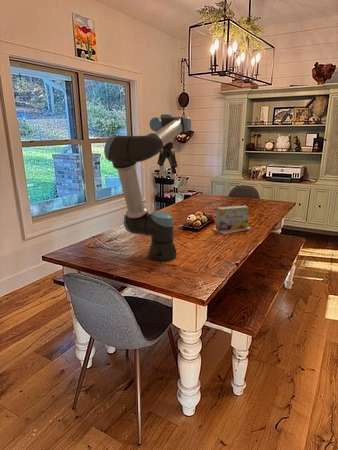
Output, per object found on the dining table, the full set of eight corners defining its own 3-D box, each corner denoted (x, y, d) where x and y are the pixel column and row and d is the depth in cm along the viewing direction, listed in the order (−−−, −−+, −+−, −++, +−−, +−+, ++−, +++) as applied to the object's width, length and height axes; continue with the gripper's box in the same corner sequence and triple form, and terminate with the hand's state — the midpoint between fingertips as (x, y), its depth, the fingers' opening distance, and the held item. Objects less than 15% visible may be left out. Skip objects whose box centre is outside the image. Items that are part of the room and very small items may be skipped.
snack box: (219, 231, 208) (220, 209, 204) (215, 228, 213) (216, 207, 209) (247, 228, 214) (249, 206, 210) (243, 225, 219) (244, 204, 215)
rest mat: (252, 228, 215) (252, 227, 215) (222, 234, 203) (222, 233, 203) (240, 224, 225) (240, 223, 225) (210, 229, 213) (210, 228, 213)
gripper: (183, 142, 179) (183, 179, 185) (162, 141, 200) (162, 174, 206) (172, 142, 175) (172, 180, 182) (151, 141, 196) (152, 175, 202)
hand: (167, 177), depth 194 cm, fingers open, 13 cm apart
